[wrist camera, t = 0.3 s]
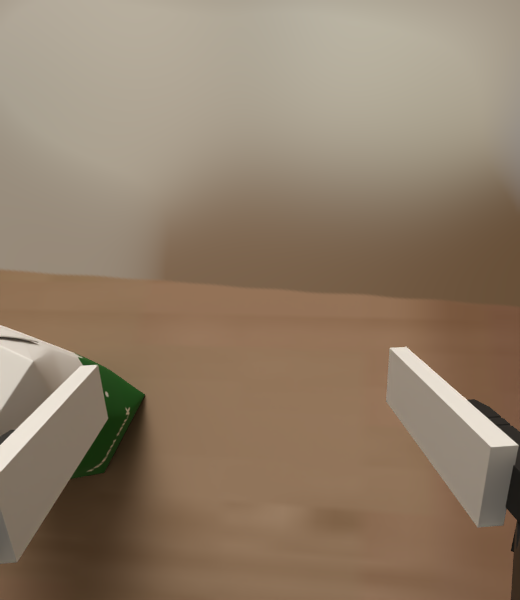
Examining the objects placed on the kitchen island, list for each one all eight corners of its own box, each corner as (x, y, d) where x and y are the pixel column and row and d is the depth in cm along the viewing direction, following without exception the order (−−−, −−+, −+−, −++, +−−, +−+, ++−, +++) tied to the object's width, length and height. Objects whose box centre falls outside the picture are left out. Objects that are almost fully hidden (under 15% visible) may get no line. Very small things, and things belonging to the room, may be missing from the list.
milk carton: (75, 350, 32) (-171, 251, 13) (160, 390, 31) (26, 343, 12) (17, 443, 29) (-397, 484, 11) (109, 489, 28) (-165, 625, 10)
